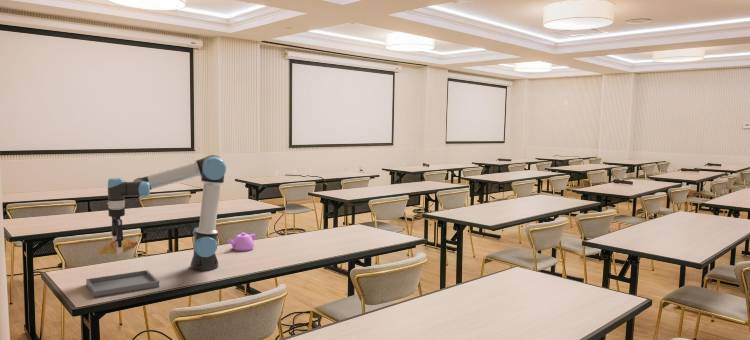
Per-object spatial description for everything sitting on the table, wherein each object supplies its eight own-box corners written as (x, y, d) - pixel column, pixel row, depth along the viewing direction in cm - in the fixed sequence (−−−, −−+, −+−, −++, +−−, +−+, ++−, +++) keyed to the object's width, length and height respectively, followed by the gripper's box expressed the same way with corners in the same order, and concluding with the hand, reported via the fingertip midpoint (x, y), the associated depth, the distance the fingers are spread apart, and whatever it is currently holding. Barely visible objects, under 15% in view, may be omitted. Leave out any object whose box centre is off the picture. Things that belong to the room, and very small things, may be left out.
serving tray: (147, 275, 279) (147, 269, 278) (159, 286, 261) (159, 281, 261) (86, 284, 261) (86, 279, 261) (94, 297, 244) (94, 291, 243)
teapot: (222, 249, 335) (222, 233, 334) (249, 244, 350) (249, 229, 349) (234, 254, 326) (234, 237, 325) (261, 248, 340) (261, 232, 339)
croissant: (101, 263, 258) (105, 250, 255) (90, 251, 262) (94, 238, 259) (140, 253, 276) (143, 241, 273) (129, 242, 280) (133, 230, 277)
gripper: (104, 205, 272) (105, 246, 275) (112, 212, 254) (113, 257, 256) (120, 204, 277) (121, 244, 279) (129, 211, 258) (130, 254, 261)
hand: (117, 250), depth 268 cm, fingers closed on croissant, 10 cm apart
